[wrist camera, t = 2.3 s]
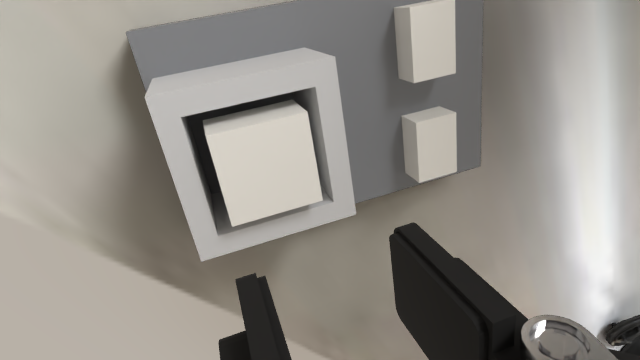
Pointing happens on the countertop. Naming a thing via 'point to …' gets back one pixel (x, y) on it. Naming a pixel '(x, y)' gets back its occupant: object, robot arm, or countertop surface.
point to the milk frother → (626, 335)
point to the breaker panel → (318, 100)
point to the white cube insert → (264, 160)
